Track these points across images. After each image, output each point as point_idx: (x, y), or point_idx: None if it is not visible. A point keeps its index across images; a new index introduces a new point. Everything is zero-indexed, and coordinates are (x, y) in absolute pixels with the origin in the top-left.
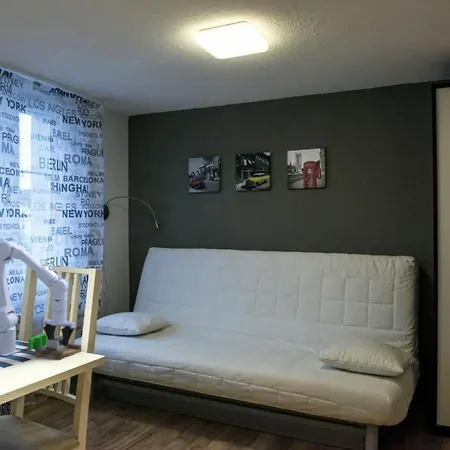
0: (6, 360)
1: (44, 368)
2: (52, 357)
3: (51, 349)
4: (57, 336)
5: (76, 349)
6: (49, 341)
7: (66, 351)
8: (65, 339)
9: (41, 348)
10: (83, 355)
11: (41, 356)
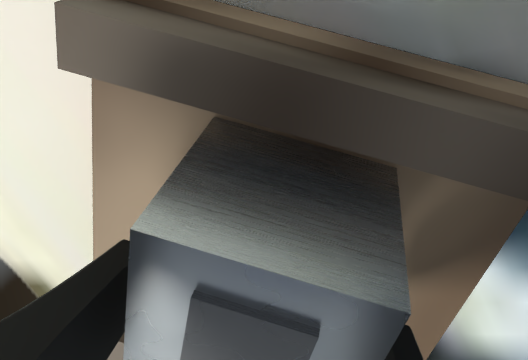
0: None
1: None
2: (231, 10)
3: (301, 168)
4: None
5: None
6: (333, 263)
7: None
8: (36, 303)
9: (488, 188)
10: (3, 191)
11: (436, 63)
